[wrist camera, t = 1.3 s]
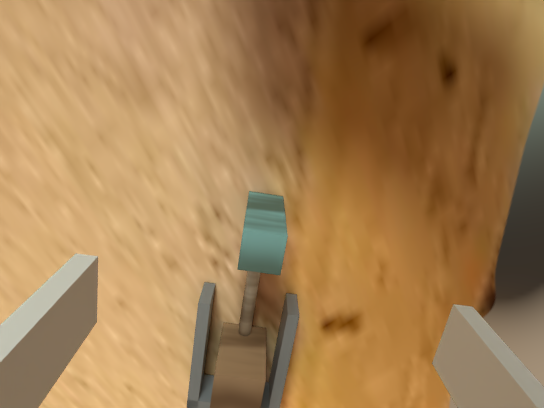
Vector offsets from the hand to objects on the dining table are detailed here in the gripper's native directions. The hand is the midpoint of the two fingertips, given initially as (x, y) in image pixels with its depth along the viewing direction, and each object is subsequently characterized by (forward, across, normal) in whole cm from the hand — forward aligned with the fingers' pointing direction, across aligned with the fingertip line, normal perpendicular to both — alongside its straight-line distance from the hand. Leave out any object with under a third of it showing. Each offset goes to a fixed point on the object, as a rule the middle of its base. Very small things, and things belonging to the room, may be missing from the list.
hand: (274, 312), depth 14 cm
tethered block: (+26, 0, -14) cm, 29 cm away
